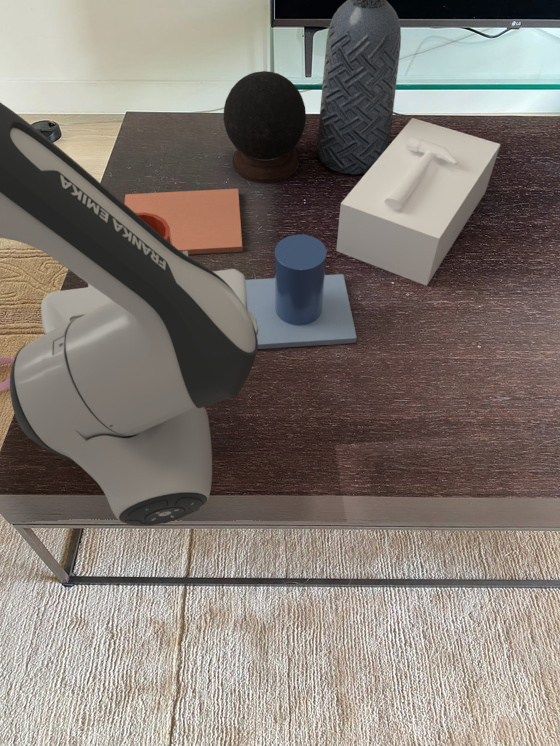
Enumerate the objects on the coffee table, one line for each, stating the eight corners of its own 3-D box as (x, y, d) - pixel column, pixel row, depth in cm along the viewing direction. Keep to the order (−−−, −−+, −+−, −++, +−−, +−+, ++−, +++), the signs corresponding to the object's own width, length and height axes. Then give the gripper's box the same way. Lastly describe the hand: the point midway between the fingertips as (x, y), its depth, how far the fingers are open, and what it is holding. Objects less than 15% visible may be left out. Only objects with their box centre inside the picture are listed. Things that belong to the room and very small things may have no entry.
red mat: (120, 258, 91) (119, 253, 90) (126, 199, 100) (125, 194, 99) (242, 251, 92) (242, 246, 91) (238, 193, 101) (238, 188, 100)
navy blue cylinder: (277, 326, 82) (276, 271, 74) (273, 292, 86) (272, 235, 78) (325, 323, 82) (330, 268, 74) (319, 289, 86) (323, 232, 78)
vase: (390, 176, 103) (420, -9, 81) (317, 176, 103) (327, -10, 81) (383, 135, 111) (410, -45, 88) (315, 135, 111) (324, -46, 88)
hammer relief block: (485, 191, 101) (504, 130, 92) (426, 285, 88) (442, 224, 79) (403, 165, 105) (414, 104, 97) (336, 251, 92) (342, 189, 84)
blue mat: (249, 349, 81) (249, 345, 80) (245, 284, 88) (244, 279, 87) (356, 343, 81) (356, 338, 81) (342, 279, 89) (343, 273, 88)
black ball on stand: (219, 147, 108) (211, 61, 96) (291, 135, 111) (292, 50, 99) (237, 192, 101) (231, 105, 89) (314, 178, 103) (318, 91, 91)
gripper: (260, 321, 57) (238, 225, 65) (31, 353, 55) (38, 249, 63) (262, 364, 62) (241, 269, 70) (52, 395, 60) (56, 293, 68)
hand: (144, 260), depth 66 cm, fingers closed on terracotta cup, 6 cm apart
